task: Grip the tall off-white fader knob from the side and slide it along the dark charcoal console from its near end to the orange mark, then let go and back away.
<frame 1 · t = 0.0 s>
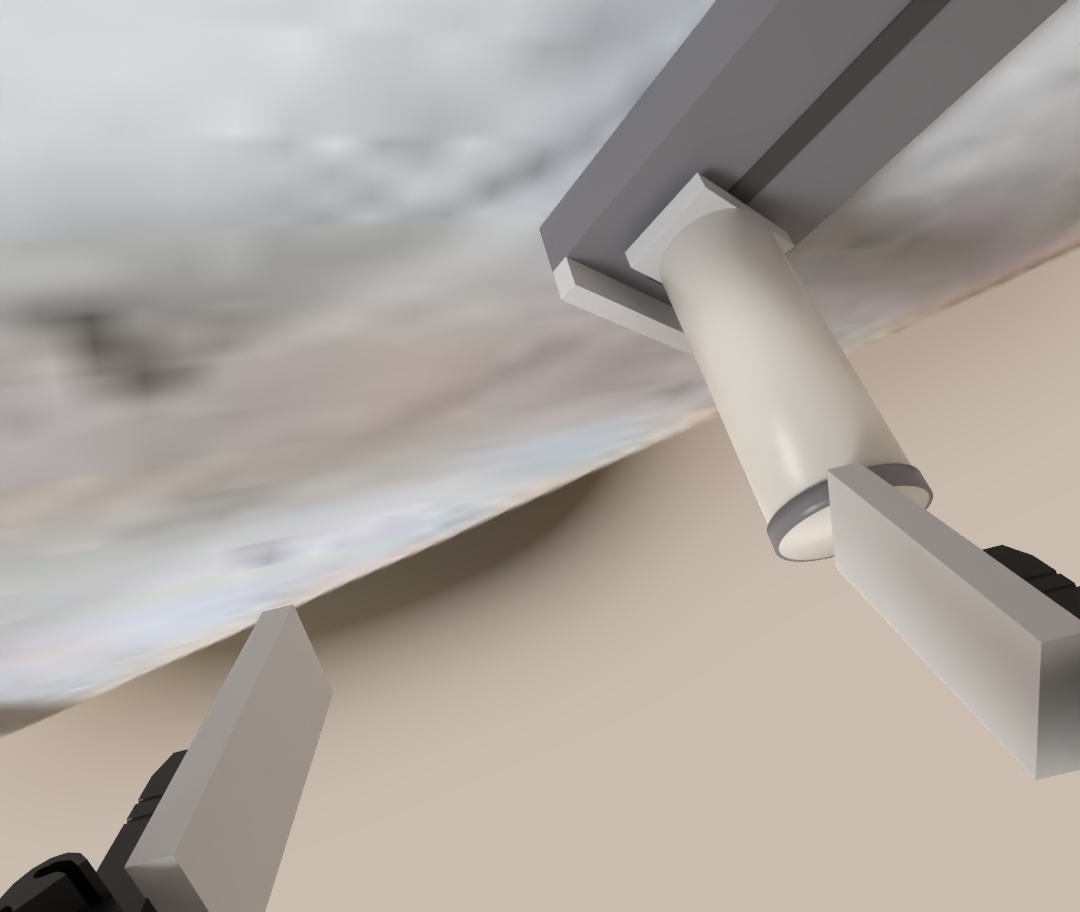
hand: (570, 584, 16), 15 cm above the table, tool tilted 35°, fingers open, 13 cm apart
fader knob: (768, 362, 21), point 9 cm above the table, slide at -7.0 cm
fader console: (833, 23, 22), on the table
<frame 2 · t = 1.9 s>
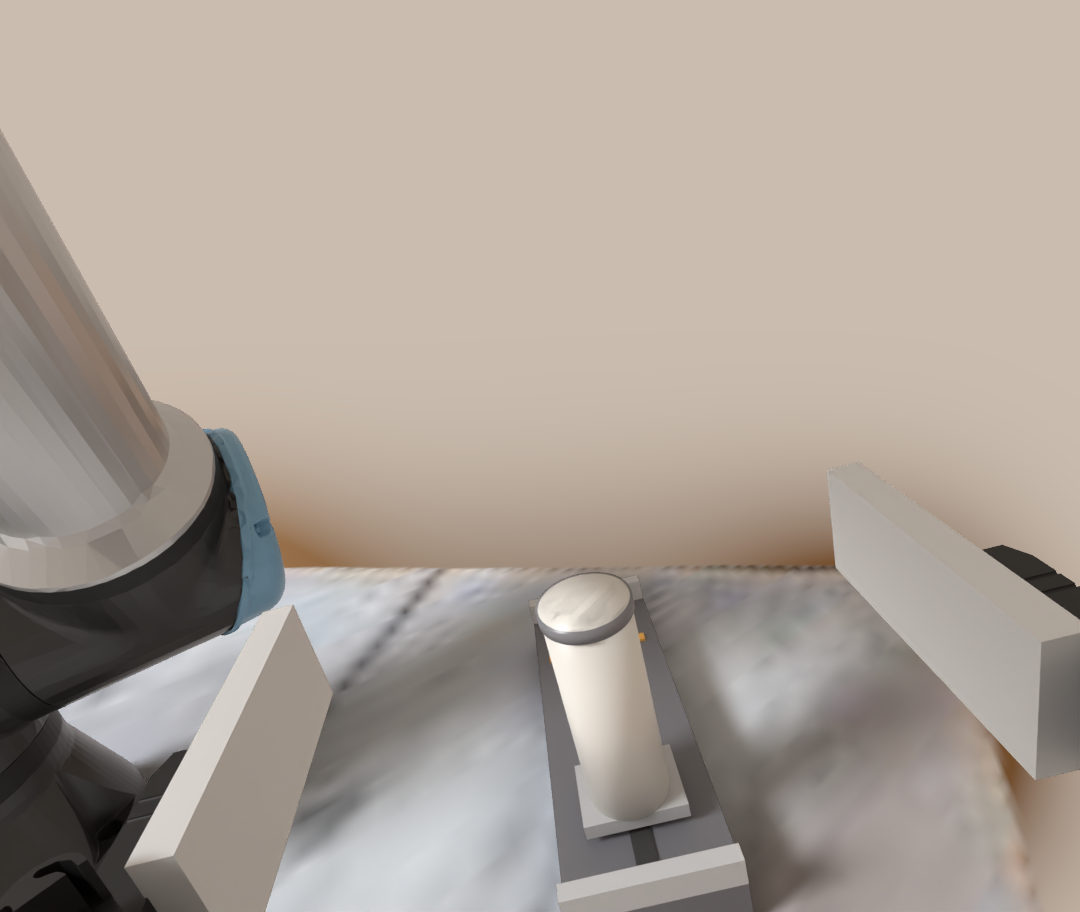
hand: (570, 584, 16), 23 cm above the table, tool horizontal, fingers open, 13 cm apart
fader knob: (609, 705, 31), point 9 cm above the table, slide at -5.9 cm
fader console: (620, 747, 40), on the table
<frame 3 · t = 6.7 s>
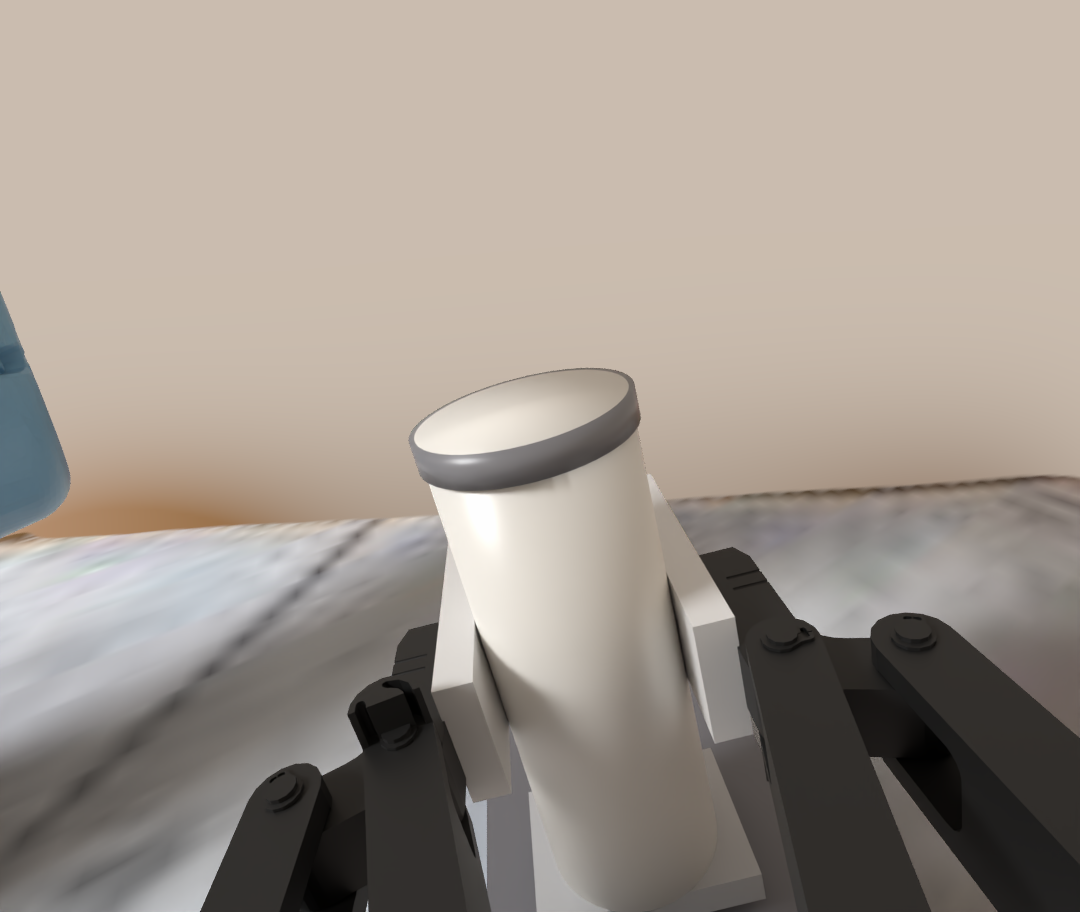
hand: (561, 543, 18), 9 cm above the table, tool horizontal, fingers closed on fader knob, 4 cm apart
fader knob: (588, 662, 14), point 9 cm above the table, slide at -5.9 cm, touching gripper
fader console: (618, 756, 23), on the table
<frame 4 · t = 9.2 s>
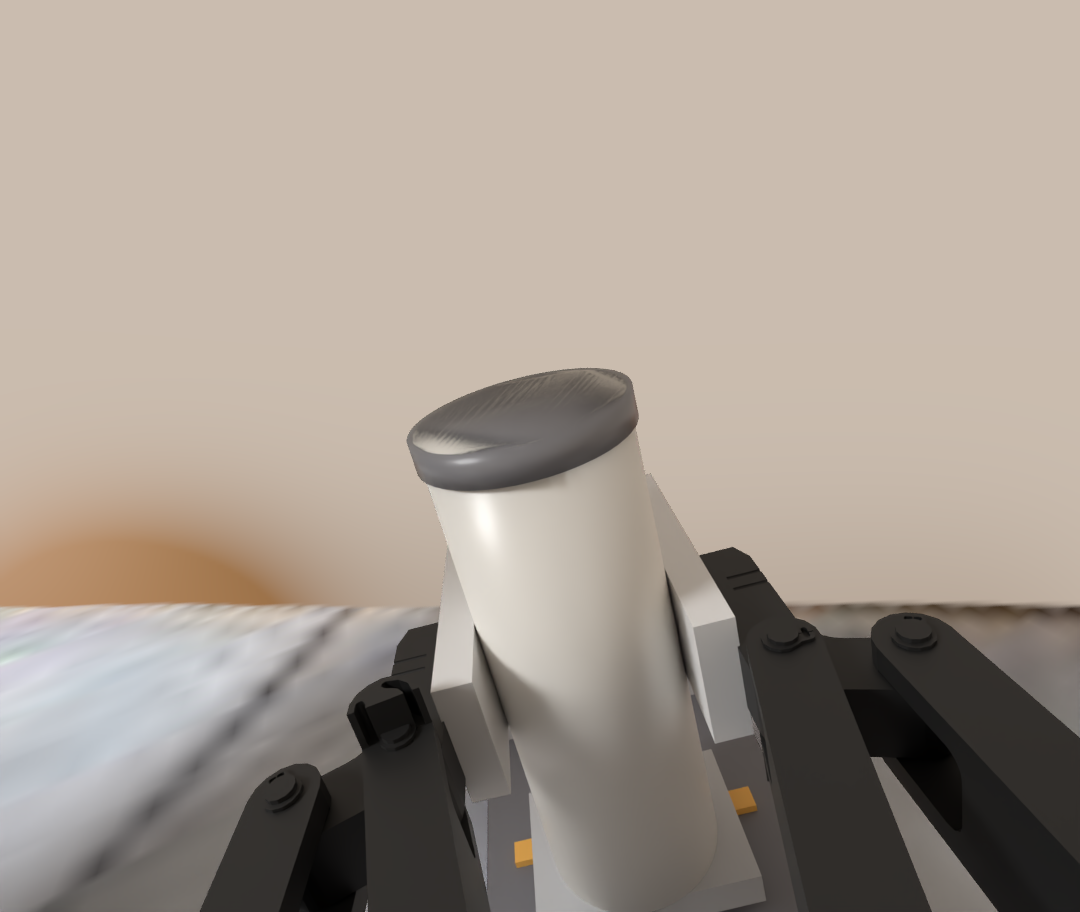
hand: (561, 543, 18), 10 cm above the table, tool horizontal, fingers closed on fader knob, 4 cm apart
fader knob: (587, 663, 14), point 9 cm above the table, slide at 4.9 cm, touching gripper
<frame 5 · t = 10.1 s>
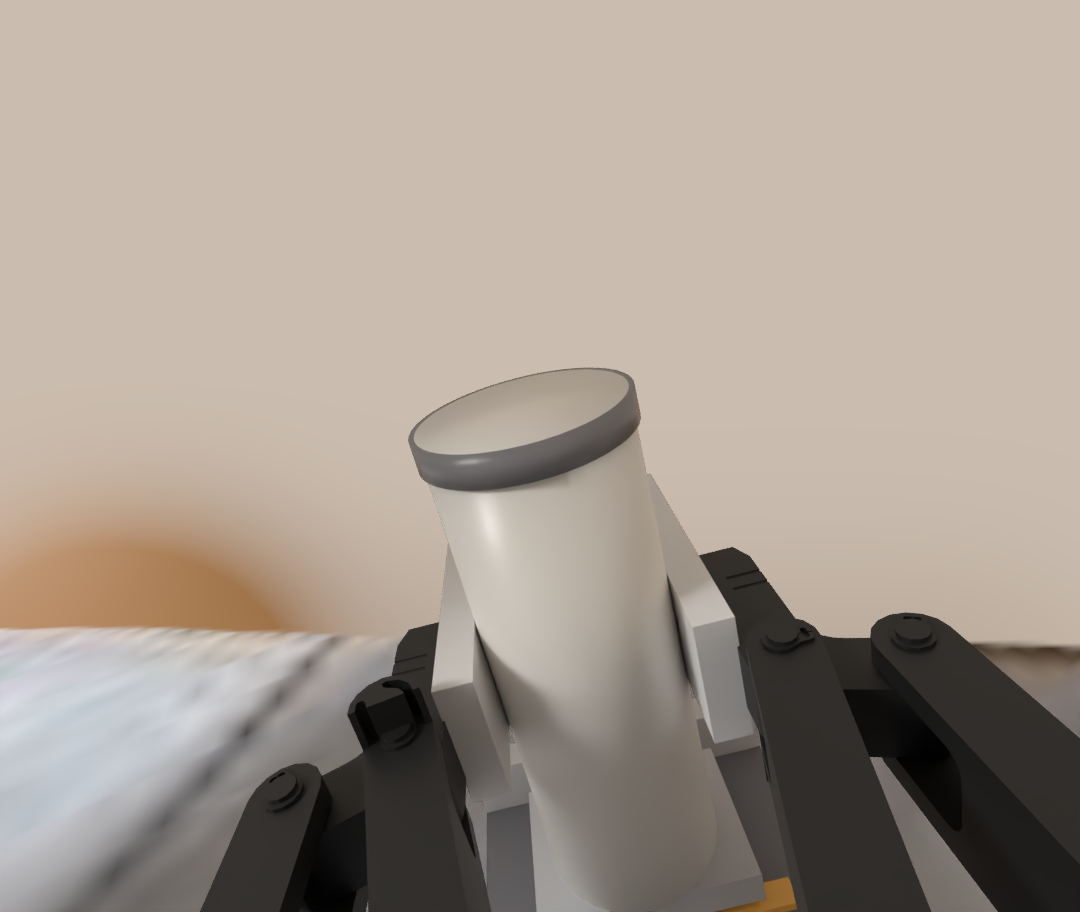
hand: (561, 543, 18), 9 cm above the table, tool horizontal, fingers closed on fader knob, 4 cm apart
fader knob: (588, 662, 14), point 9 cm above the table, slide at 7.5 cm, touching gripper
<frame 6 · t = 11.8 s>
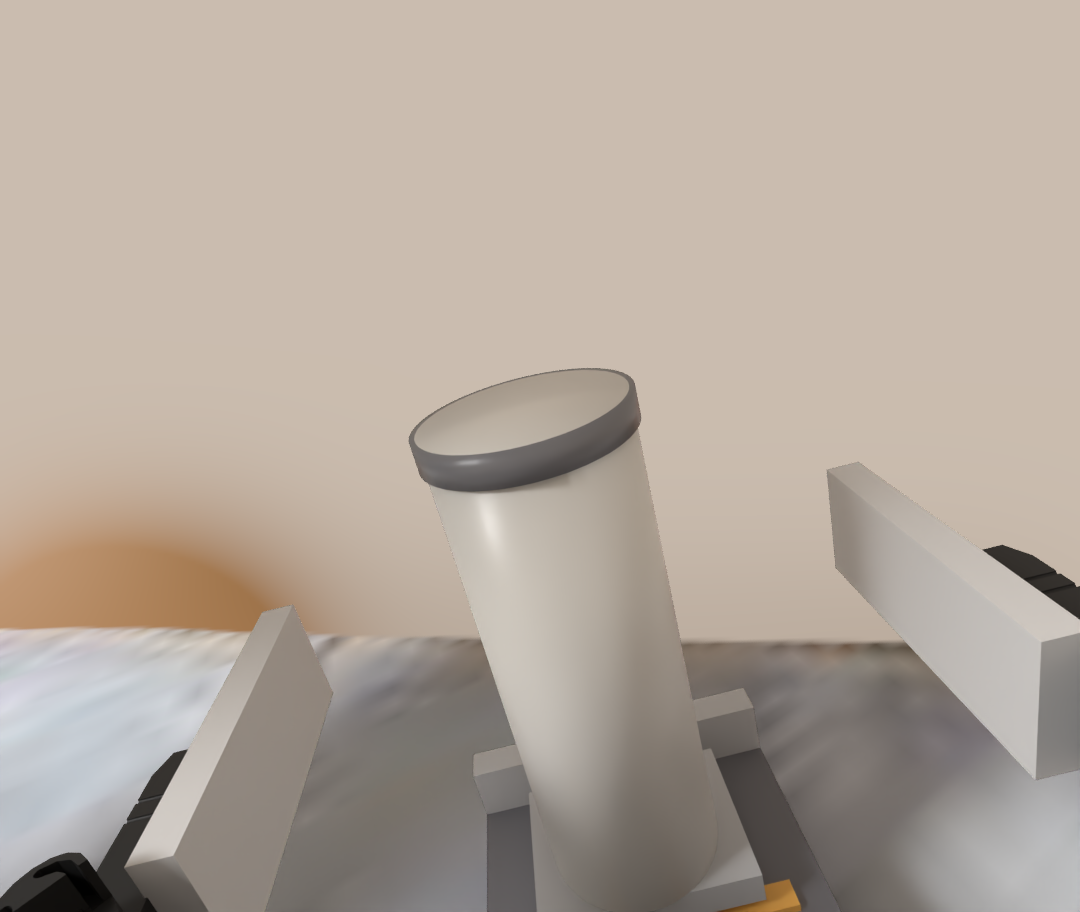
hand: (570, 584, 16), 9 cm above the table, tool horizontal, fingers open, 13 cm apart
fader knob: (588, 663, 14), point 9 cm above the table, slide at 7.6 cm
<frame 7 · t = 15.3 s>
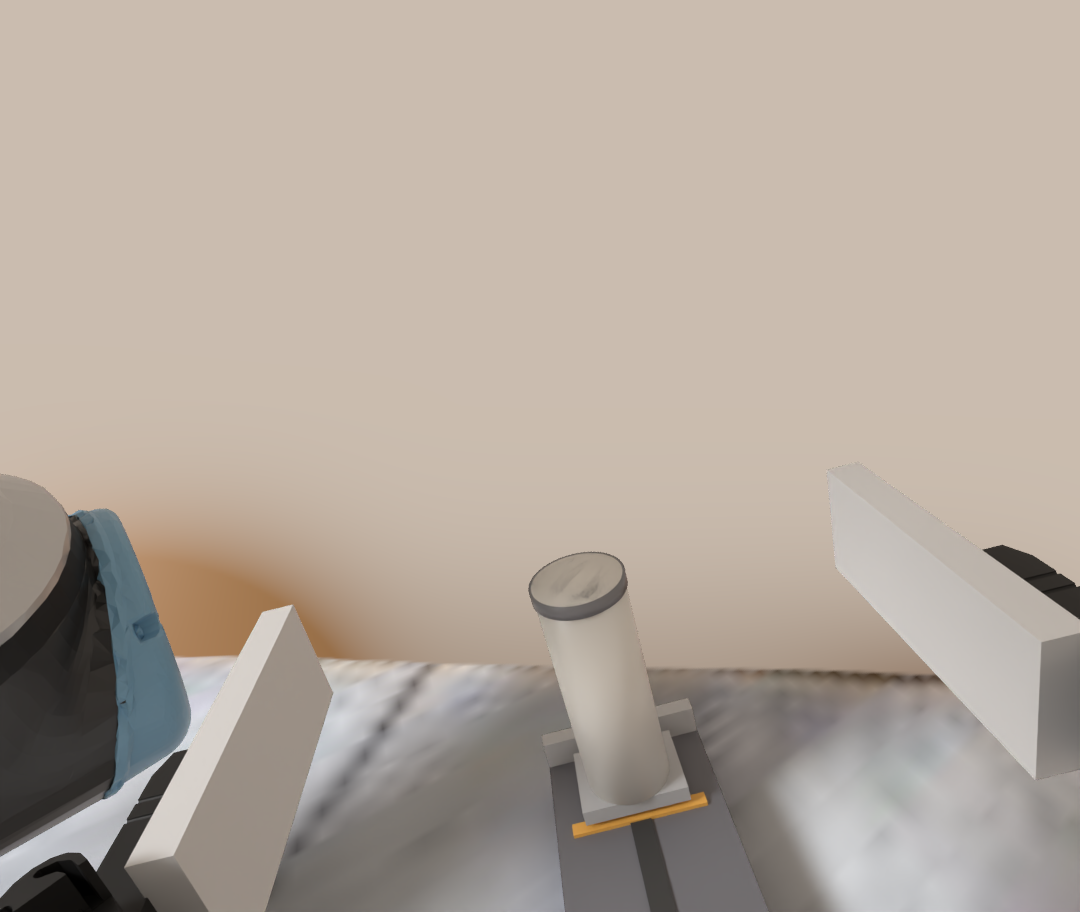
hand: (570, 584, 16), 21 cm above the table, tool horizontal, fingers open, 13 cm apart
fader knob: (605, 686, 31), point 9 cm above the table, slide at 7.6 cm
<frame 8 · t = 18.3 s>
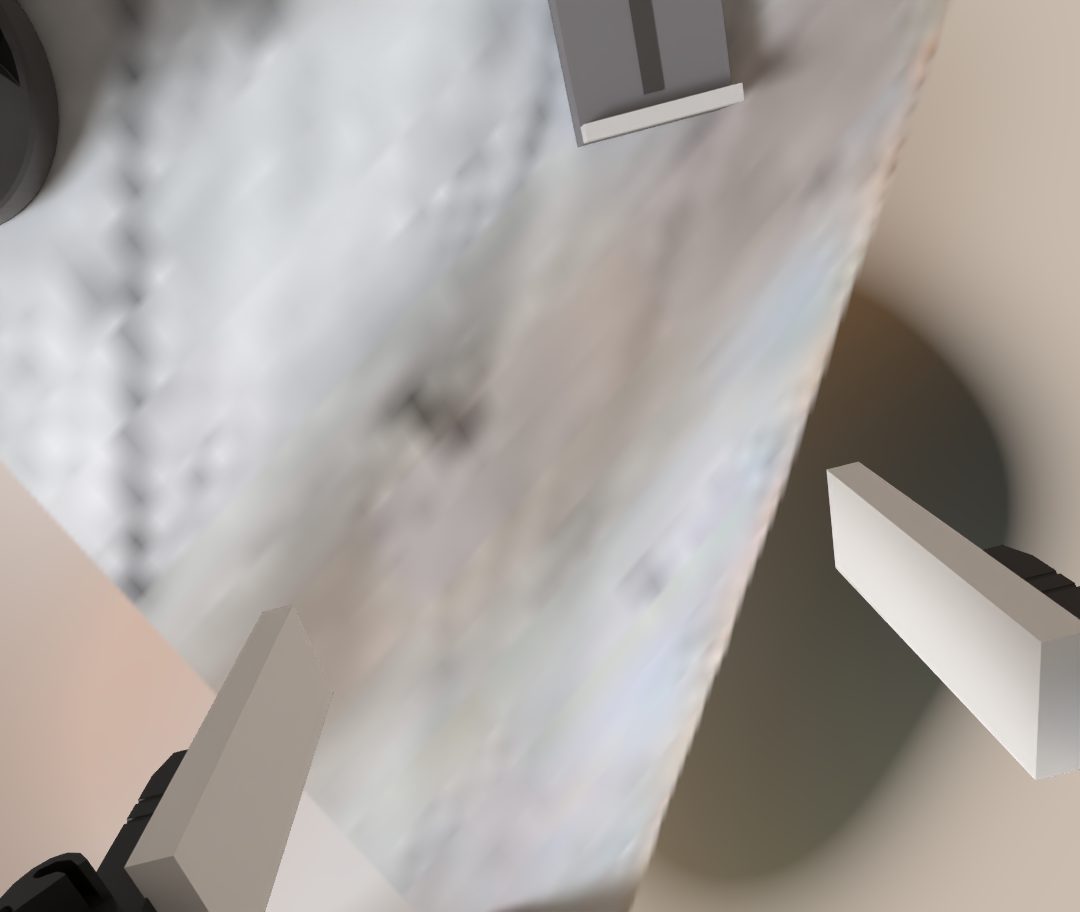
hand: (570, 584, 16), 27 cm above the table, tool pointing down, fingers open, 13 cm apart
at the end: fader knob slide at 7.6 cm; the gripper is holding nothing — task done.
